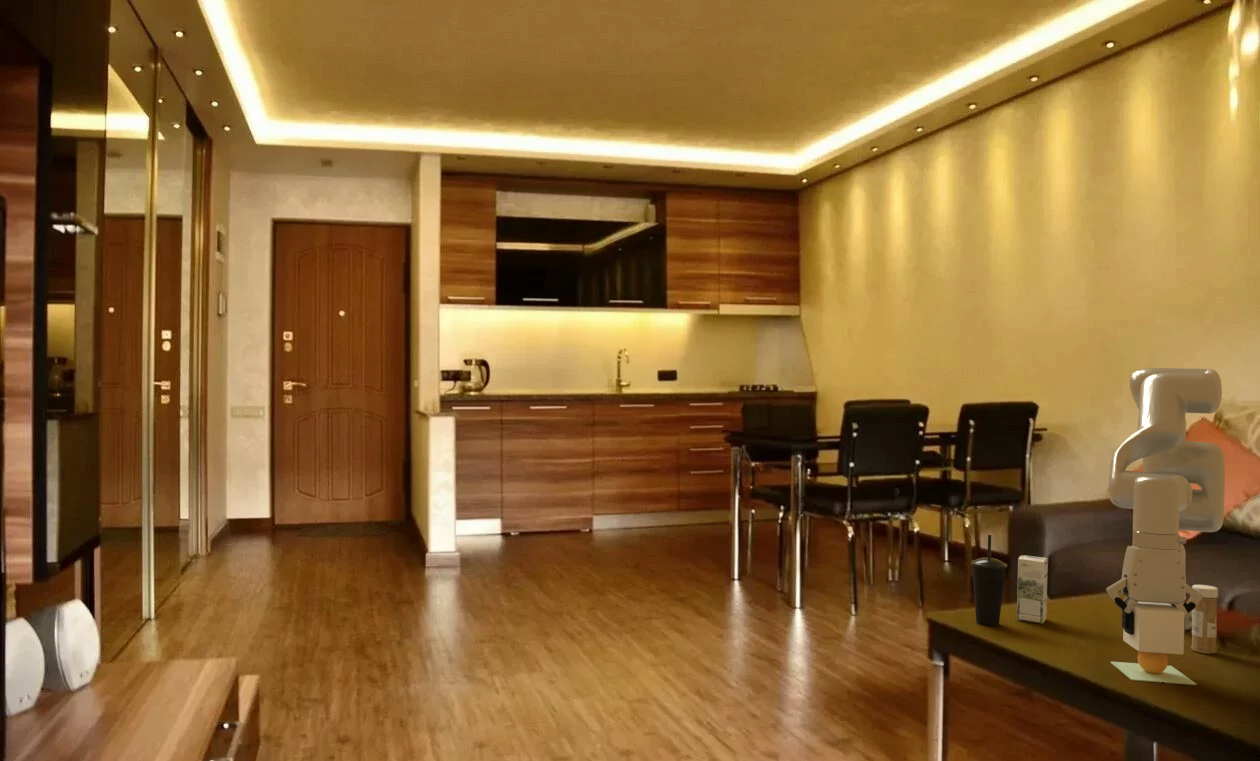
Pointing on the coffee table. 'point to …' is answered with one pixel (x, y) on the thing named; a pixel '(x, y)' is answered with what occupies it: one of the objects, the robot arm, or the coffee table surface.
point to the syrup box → (1032, 589)
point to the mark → (1139, 674)
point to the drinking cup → (988, 588)
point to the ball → (1152, 662)
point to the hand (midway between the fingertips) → (1152, 634)
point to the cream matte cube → (1157, 628)
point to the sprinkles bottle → (1205, 620)
